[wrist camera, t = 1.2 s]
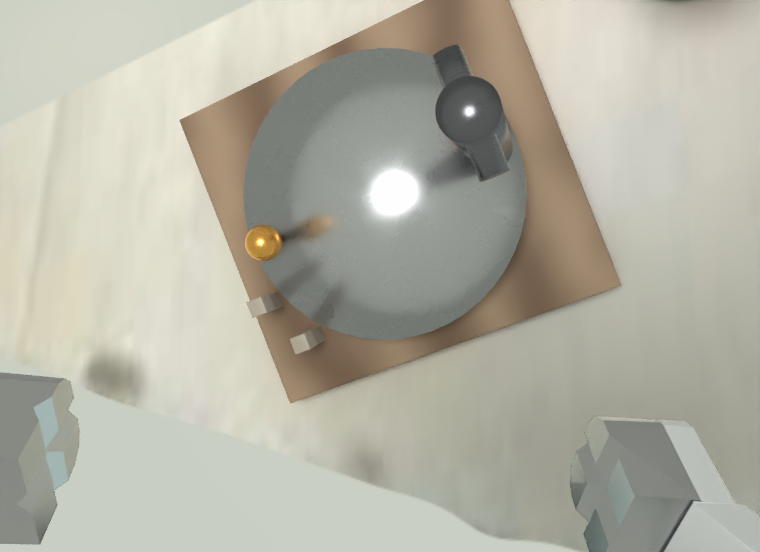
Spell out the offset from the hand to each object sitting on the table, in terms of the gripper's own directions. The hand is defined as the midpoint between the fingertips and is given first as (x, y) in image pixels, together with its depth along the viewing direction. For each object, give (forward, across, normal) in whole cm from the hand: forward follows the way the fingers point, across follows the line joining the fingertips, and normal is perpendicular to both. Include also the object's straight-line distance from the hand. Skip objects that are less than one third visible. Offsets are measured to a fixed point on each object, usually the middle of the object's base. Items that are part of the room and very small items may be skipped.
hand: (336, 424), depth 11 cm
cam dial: (+30, -3, +11) cm, 32 cm away
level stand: (+32, -4, +12) cm, 34 cm away
